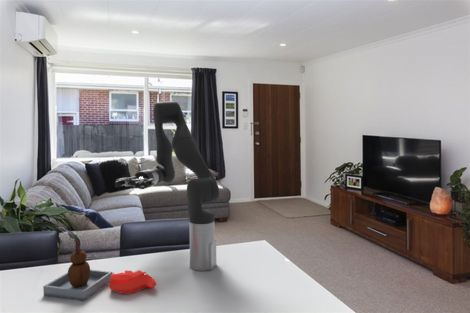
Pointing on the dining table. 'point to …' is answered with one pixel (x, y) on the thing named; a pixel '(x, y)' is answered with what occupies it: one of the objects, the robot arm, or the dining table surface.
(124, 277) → the animal figurine
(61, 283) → the slate dish
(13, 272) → the dining table surface
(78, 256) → the wooden figurine
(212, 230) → the robot arm
